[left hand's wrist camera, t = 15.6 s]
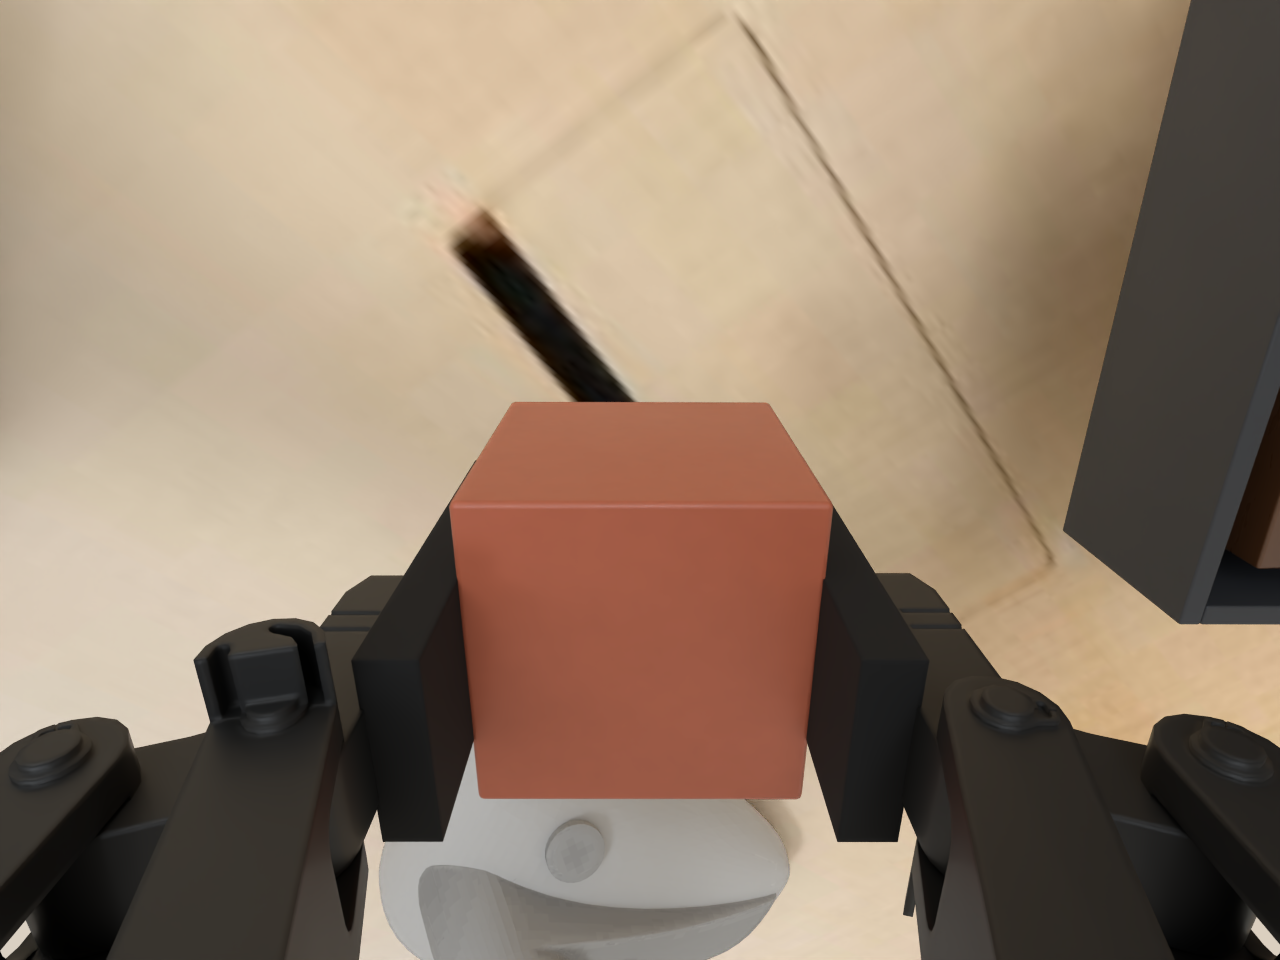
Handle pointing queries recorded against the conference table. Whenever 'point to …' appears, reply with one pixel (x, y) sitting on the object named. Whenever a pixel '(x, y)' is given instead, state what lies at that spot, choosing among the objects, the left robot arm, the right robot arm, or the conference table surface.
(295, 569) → the conference table surface
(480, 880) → the projector
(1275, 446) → the walnut block
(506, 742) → the terracotta block
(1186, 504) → the tote
